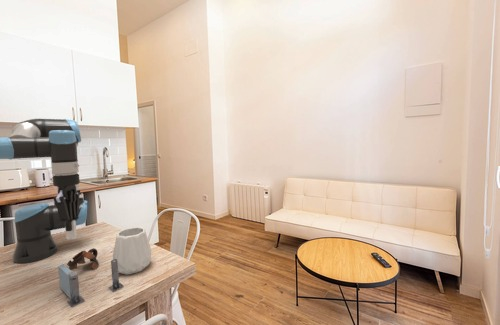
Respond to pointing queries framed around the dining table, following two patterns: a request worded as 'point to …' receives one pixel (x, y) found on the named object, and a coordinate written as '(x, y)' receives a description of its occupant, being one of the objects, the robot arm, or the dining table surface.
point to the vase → (132, 250)
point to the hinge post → (75, 293)
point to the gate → (66, 279)
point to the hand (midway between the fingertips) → (71, 238)
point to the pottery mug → (80, 259)
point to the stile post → (115, 276)
